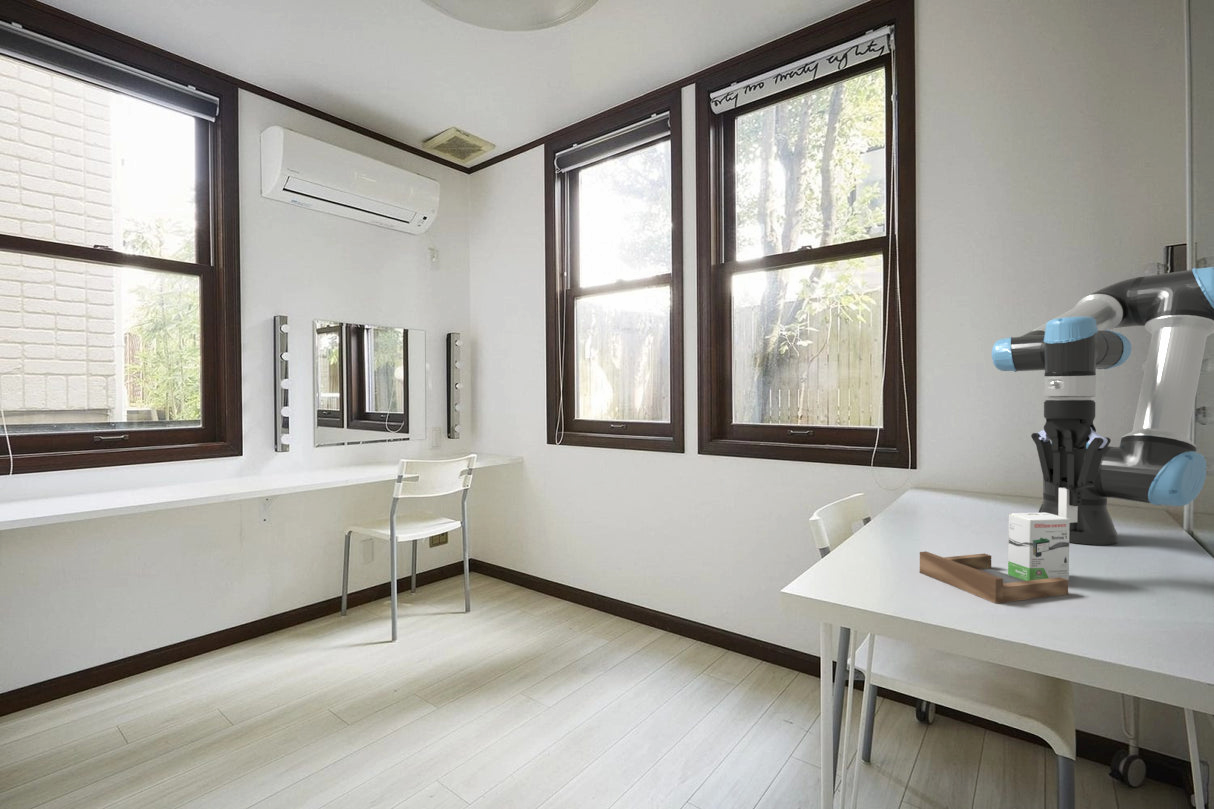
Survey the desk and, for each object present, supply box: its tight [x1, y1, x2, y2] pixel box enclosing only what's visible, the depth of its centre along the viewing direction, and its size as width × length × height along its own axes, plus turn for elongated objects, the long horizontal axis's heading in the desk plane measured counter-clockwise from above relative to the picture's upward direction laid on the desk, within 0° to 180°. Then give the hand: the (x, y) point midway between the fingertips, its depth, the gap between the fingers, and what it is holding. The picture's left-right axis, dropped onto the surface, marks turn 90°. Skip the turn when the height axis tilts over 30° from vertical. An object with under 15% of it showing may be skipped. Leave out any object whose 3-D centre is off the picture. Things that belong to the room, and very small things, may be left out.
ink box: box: [1007, 512, 1070, 582], centre depth 103 cm, size 9×5×12 cm, turn 98°
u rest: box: [919, 551, 1069, 604], centre depth 100 cm, size 16×16×4 cm
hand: (1067, 521), depth 105 cm, fingers closed
